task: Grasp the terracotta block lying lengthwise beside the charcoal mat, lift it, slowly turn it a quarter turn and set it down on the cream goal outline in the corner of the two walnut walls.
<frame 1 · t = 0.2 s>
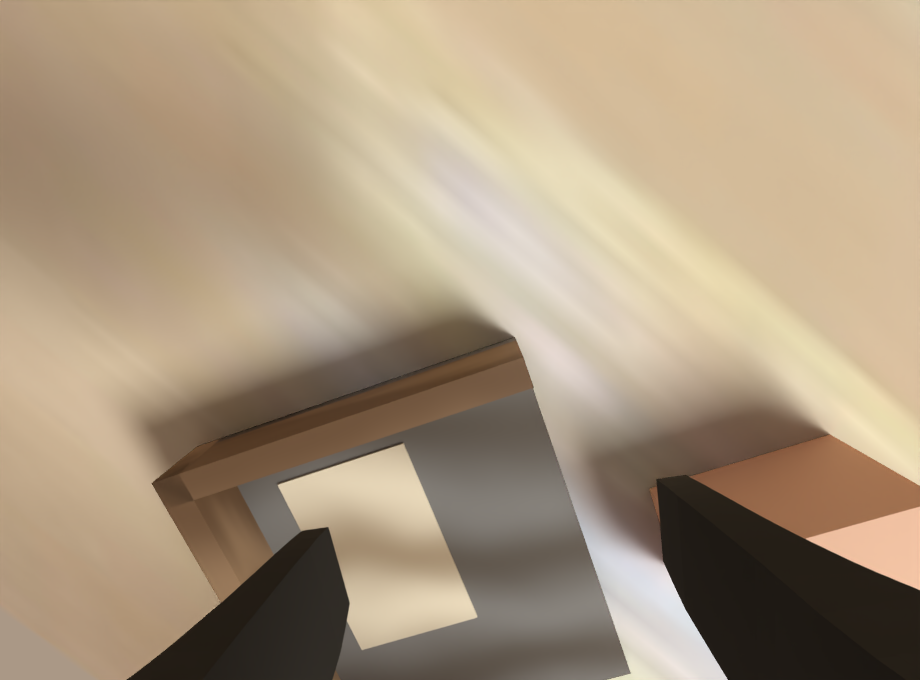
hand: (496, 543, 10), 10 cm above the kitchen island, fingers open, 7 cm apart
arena: (424, 561, 22), on the kitchen island
block: (746, 502, 21), on the kitchen island
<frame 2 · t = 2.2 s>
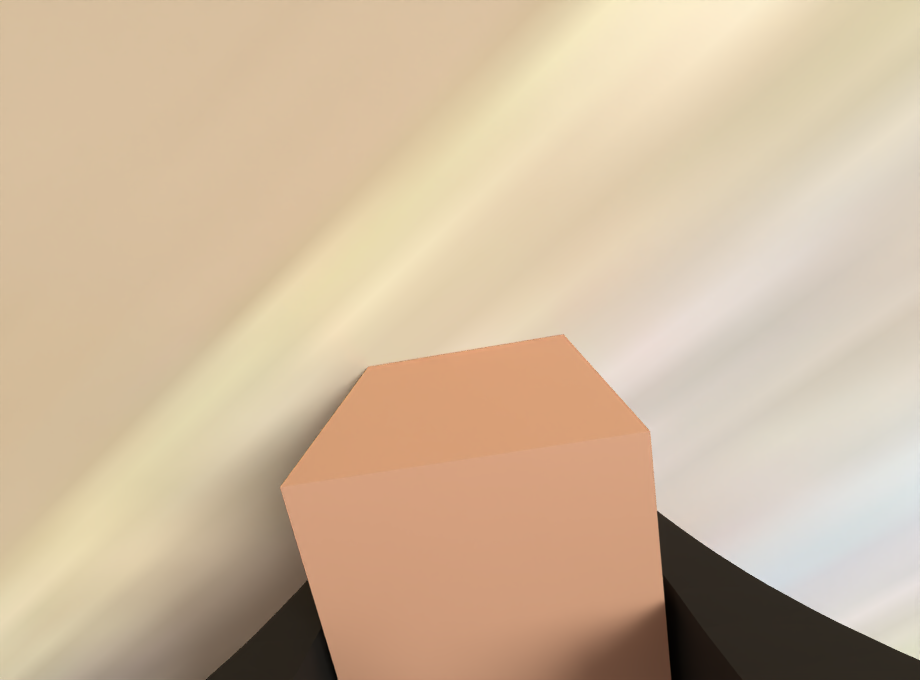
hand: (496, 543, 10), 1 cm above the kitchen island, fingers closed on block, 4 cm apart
block: (492, 504, 11), on the kitchen island, touching gripper
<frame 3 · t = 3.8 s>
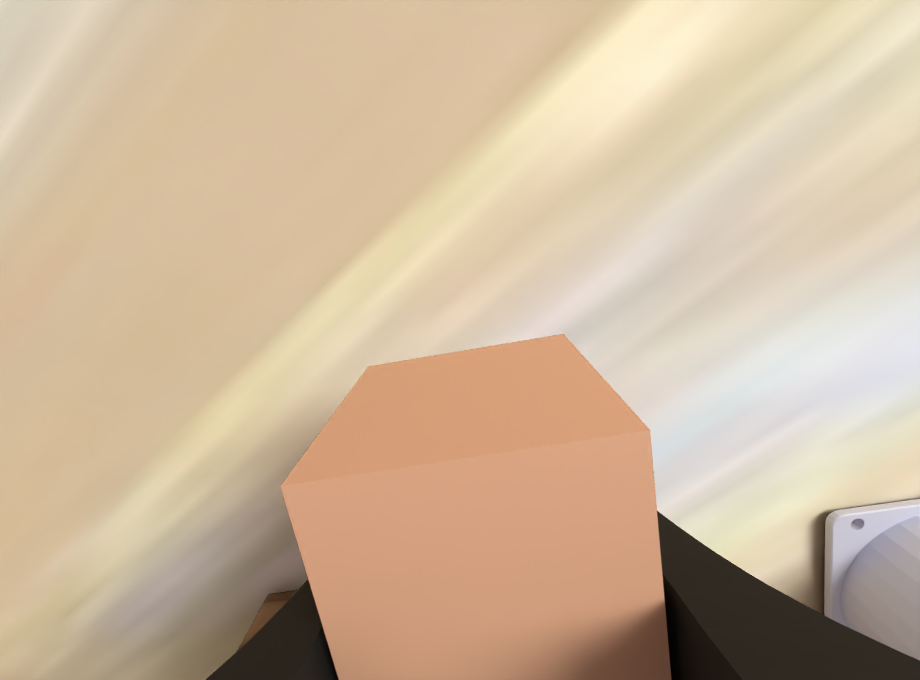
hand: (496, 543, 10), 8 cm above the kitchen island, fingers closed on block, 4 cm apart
block: (492, 504, 11), point 7 cm above the kitchen island, touching gripper
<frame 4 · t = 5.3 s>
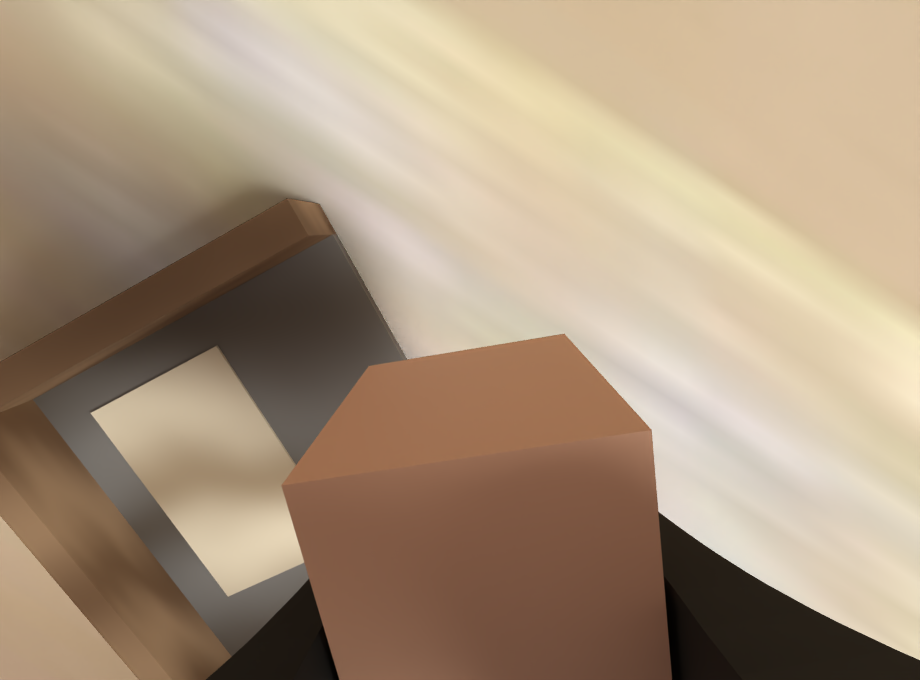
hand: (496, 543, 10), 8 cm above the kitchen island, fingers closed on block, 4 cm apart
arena: (279, 487, 19), on the kitchen island
block: (492, 504, 11), point 7 cm above the kitchen island, touching gripper
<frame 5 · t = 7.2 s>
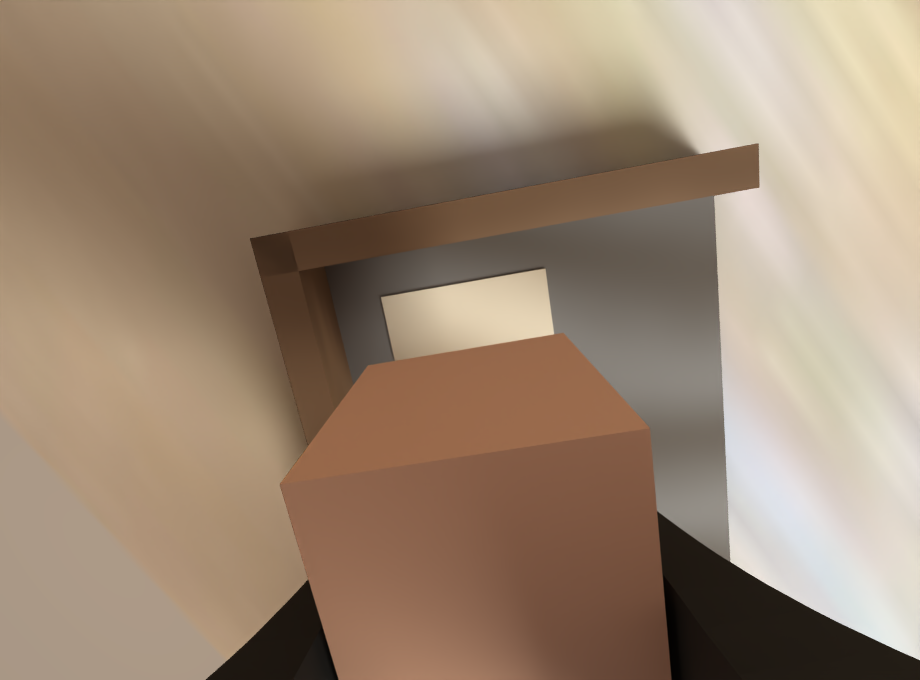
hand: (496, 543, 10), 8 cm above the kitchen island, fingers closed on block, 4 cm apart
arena: (526, 429, 18), on the kitchen island
block: (492, 503, 11), point 7 cm above the kitchen island, touching gripper
when the fingers open (3 cm above the kitchen island, at t = 8.6 s): block drops 1 cm, resting on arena.
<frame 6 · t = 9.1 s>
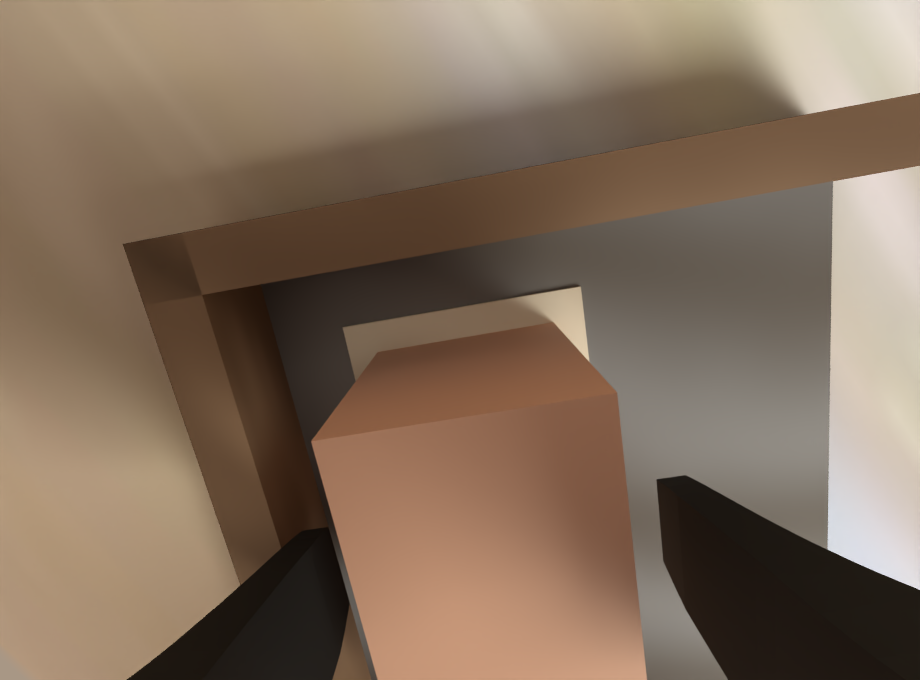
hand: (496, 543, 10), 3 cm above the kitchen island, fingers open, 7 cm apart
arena: (548, 505, 13), on the kitchen island
block: (490, 477, 12), point 1 cm above the kitchen island, touching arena
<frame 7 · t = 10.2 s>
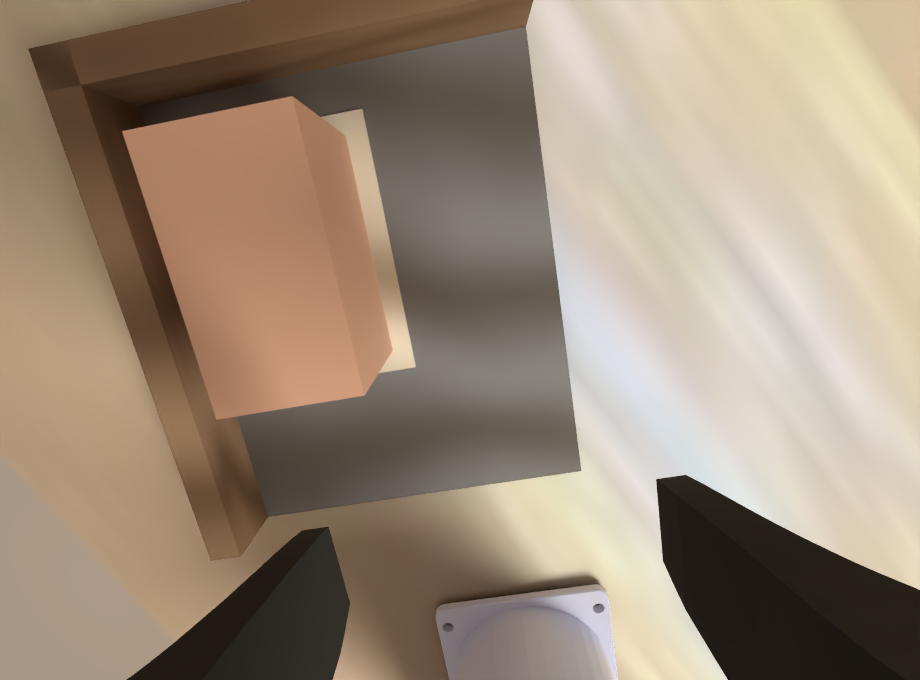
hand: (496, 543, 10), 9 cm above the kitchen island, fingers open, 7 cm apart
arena: (364, 290, 18), on the kitchen island
block: (312, 259, 17), point 1 cm above the kitchen island, touching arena
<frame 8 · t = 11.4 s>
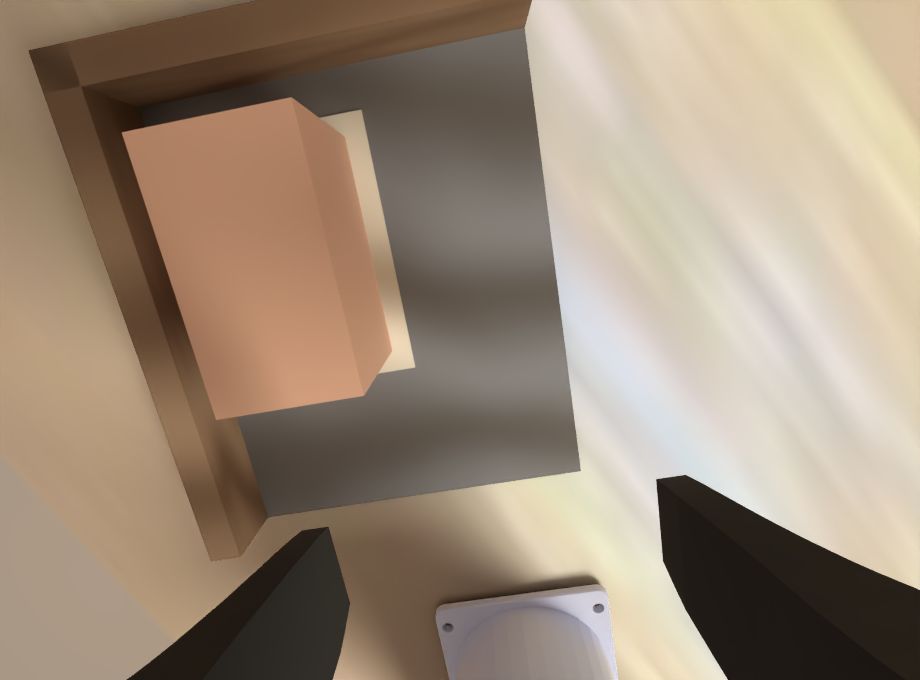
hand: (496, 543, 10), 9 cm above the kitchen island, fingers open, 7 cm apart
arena: (363, 290, 18), on the kitchen island
block: (312, 260, 17), point 1 cm above the kitchen island, touching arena
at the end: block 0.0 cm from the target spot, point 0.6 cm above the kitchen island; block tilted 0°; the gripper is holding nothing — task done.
